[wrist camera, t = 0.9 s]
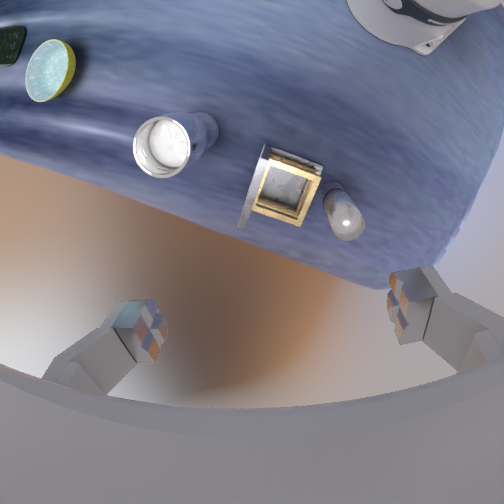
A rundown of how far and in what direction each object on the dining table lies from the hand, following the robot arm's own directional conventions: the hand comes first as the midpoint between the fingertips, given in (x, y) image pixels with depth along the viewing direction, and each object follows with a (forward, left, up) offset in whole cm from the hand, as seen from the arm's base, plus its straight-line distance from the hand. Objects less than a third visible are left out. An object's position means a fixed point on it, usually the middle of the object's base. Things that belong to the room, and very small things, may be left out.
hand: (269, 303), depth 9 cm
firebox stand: (+3, +5, -35) cm, 35 cm away
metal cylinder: (-2, +11, -35) cm, 36 cm away
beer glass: (+8, -9, -35) cm, 37 cm away
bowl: (+18, -37, -35) cm, 54 cm away
